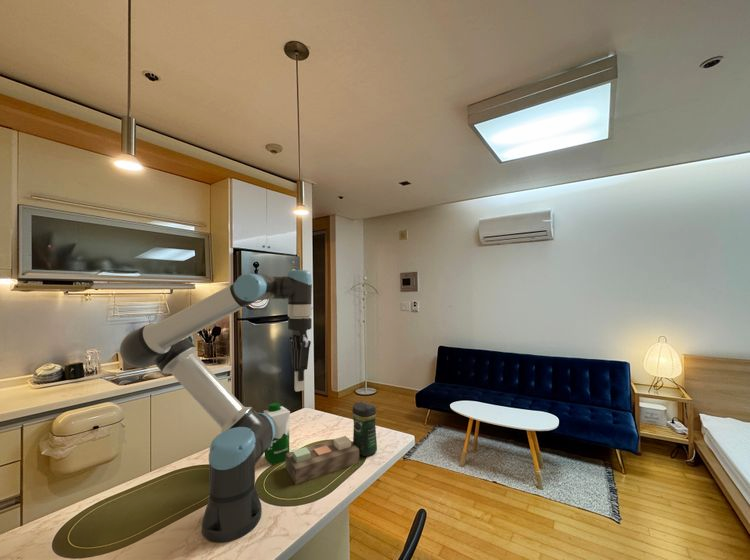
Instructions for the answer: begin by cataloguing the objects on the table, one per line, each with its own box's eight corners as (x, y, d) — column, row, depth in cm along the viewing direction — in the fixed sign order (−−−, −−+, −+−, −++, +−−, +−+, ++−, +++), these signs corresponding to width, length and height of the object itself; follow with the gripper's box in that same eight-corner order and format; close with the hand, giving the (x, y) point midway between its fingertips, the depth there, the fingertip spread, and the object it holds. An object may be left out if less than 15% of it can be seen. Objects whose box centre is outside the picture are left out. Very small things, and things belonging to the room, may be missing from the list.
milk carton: (283, 450, 127) (282, 400, 128) (293, 459, 120) (292, 406, 121) (261, 457, 121) (261, 405, 122) (270, 467, 114) (270, 411, 115)
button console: (295, 484, 104) (295, 468, 104) (285, 467, 114) (285, 453, 114) (359, 462, 117) (359, 449, 117) (345, 449, 127) (345, 436, 127)
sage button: (296, 467, 108) (296, 456, 108) (292, 460, 112) (292, 450, 112) (310, 462, 111) (310, 452, 111) (306, 456, 115) (305, 446, 115)
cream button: (339, 454, 116) (339, 444, 116) (333, 448, 121) (333, 439, 121) (351, 450, 119) (351, 440, 119) (345, 444, 123) (345, 435, 123)
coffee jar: (380, 451, 124) (379, 404, 125) (365, 459, 119) (364, 409, 120) (364, 443, 131) (364, 398, 132) (349, 450, 126) (348, 403, 127)
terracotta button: (318, 464, 112) (318, 454, 112) (313, 458, 116) (313, 449, 116) (331, 460, 115) (331, 450, 115) (326, 454, 119) (326, 445, 119)
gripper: (318, 318, 100) (318, 393, 99) (303, 315, 110) (302, 383, 109) (295, 319, 95) (295, 398, 94) (282, 316, 106) (281, 387, 105)
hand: (299, 390), depth 102 cm, fingers closed
